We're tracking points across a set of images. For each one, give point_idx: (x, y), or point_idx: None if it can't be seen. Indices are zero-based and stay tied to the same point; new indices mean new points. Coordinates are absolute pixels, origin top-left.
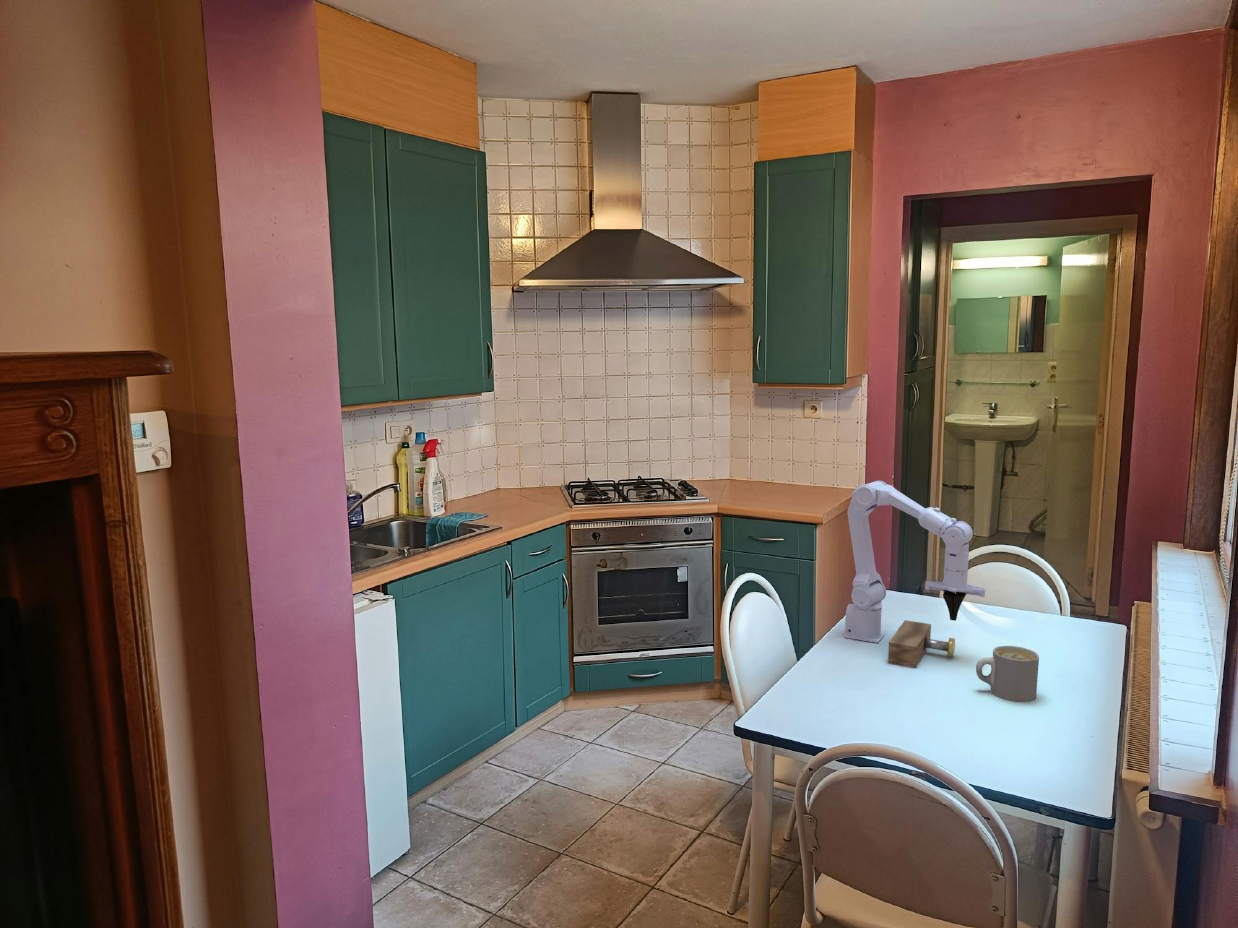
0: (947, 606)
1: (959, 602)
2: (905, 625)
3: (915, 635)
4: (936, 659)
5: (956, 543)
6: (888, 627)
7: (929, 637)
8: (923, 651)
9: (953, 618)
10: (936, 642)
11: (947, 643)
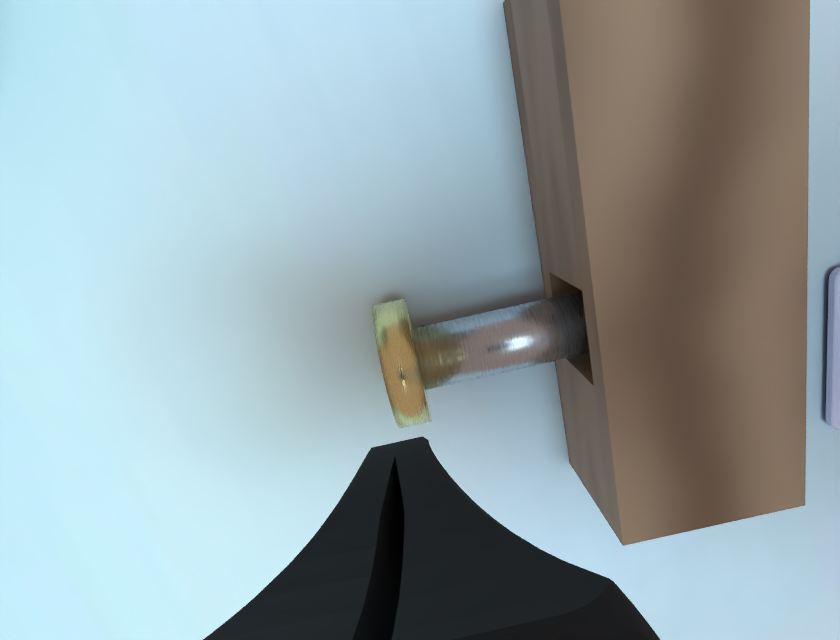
0: (479, 508)
1: (249, 620)
2: (775, 405)
3: (650, 234)
4: (453, 252)
5: None
6: (827, 539)
7: (584, 461)
8: (548, 269)
9: (386, 448)
10: (496, 329)
11: (425, 353)
